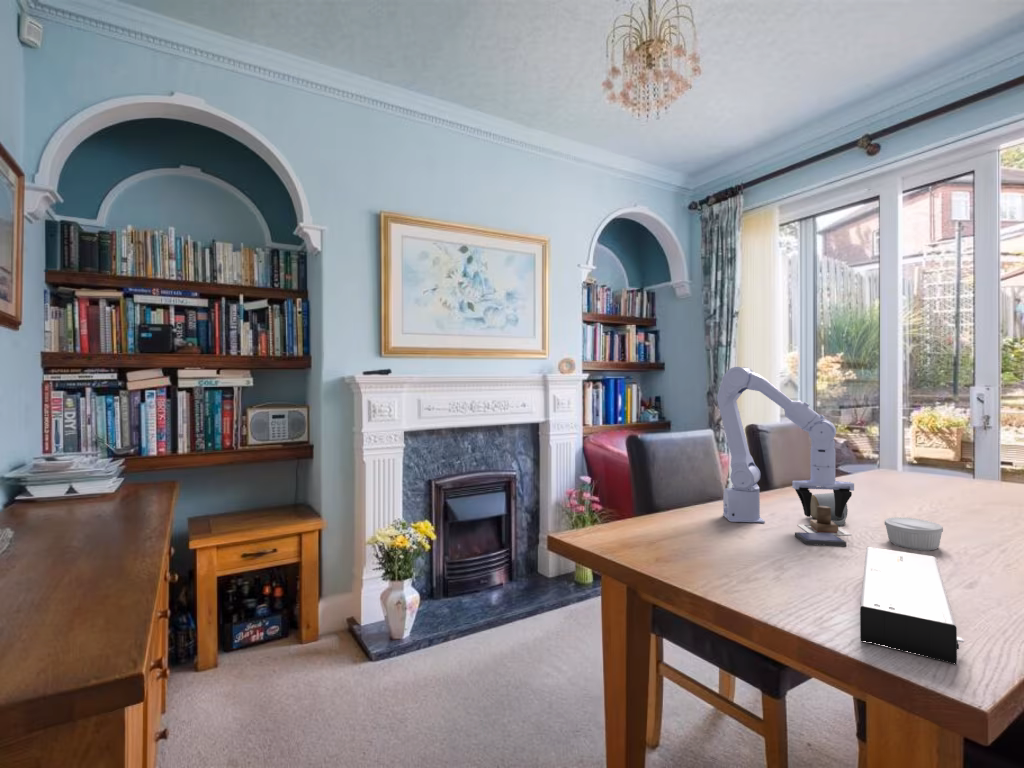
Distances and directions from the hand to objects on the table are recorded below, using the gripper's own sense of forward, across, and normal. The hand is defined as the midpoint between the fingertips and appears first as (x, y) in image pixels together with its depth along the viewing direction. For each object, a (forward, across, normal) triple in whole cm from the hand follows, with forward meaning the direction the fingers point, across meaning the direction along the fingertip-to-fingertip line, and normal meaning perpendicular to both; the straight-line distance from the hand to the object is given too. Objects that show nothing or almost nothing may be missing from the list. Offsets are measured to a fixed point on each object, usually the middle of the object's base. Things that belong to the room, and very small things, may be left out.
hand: (822, 516), depth 137 cm
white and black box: (+4, -7, -50) cm, 51 cm away
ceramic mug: (+4, +6, +10) cm, 12 cm away
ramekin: (+4, +16, -10) cm, 19 cm away
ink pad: (+4, -5, -10) cm, 12 cm away
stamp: (+3, 0, 0) cm, 4 cm away
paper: (+4, 0, 0) cm, 4 cm away
